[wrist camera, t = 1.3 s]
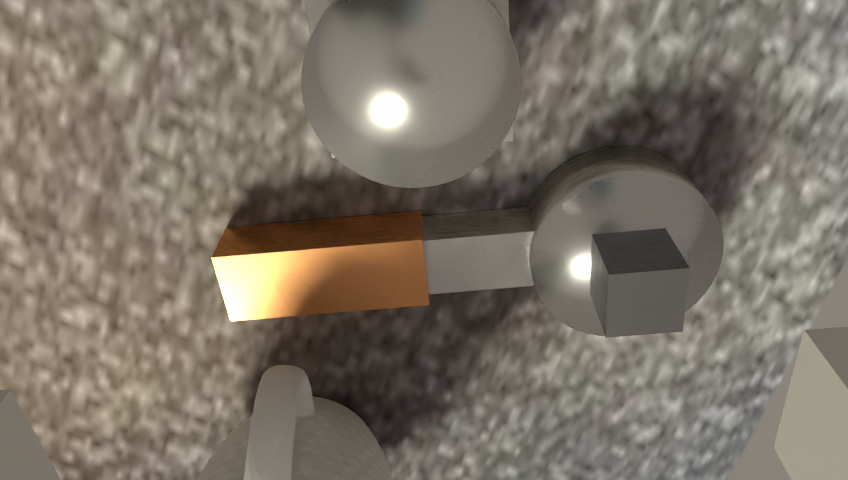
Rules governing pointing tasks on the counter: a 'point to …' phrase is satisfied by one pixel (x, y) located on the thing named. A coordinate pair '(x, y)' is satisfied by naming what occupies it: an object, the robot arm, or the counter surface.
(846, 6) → the counter surface
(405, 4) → the metal knob on block
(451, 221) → the ratchet
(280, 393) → the mug
